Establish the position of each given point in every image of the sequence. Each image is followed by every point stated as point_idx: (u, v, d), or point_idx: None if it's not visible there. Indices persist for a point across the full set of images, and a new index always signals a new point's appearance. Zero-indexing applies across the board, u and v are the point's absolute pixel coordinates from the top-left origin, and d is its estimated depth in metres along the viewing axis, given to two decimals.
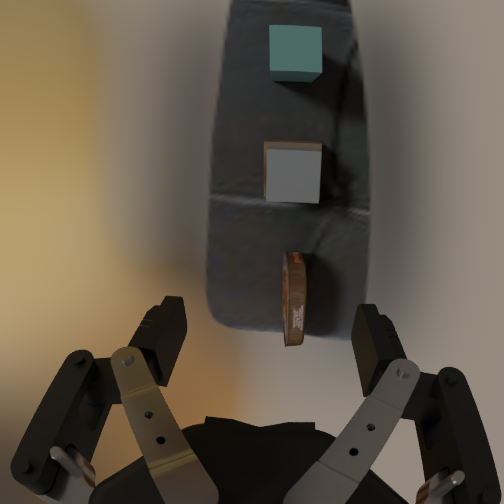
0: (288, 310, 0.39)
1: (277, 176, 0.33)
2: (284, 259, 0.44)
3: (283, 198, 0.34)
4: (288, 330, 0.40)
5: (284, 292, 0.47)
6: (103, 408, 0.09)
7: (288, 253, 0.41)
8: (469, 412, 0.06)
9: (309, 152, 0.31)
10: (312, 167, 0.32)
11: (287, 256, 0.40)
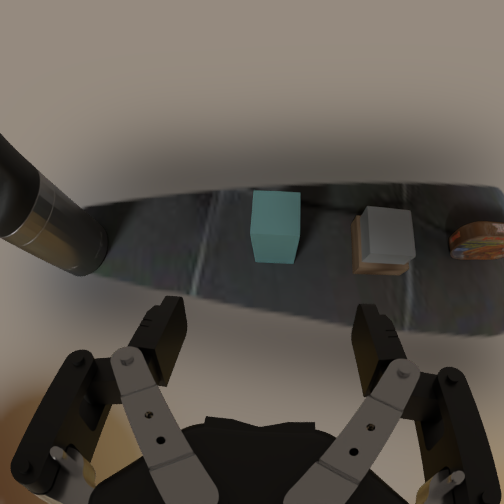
0: (499, 236, 0.30)
1: (393, 244, 0.33)
2: (455, 256, 0.37)
3: (411, 240, 0.33)
4: None
5: (481, 257, 0.37)
6: (103, 408, 0.09)
7: (452, 247, 0.35)
8: (469, 412, 0.06)
9: (369, 216, 0.34)
10: (381, 213, 0.34)
11: (455, 245, 0.34)
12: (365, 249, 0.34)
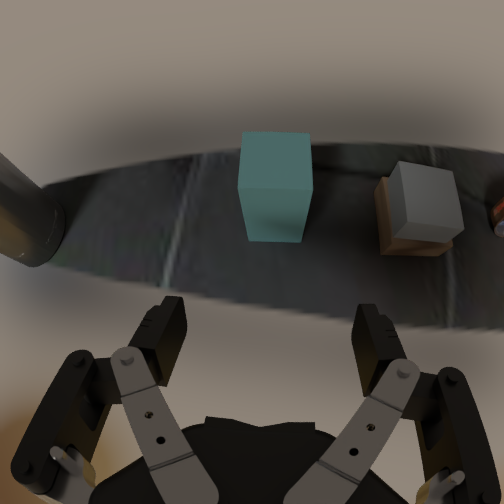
0: None
1: (435, 212, 0.22)
2: (498, 233, 0.27)
3: (457, 208, 0.22)
4: None
5: None
6: (103, 408, 0.09)
7: (498, 219, 0.25)
8: (469, 412, 0.06)
9: (402, 173, 0.23)
10: (417, 172, 0.23)
11: (503, 216, 0.24)
12: (398, 218, 0.24)
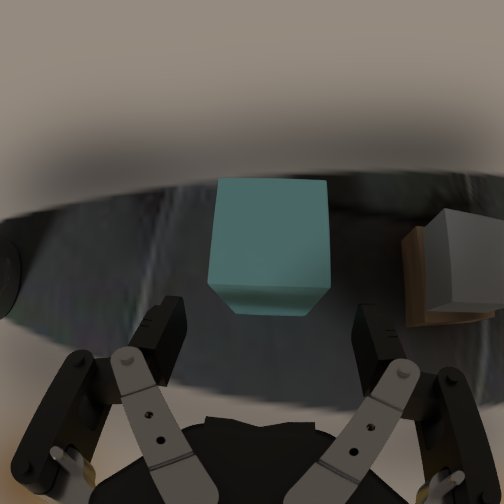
0: None
1: (486, 283, 0.14)
2: None
3: None
4: None
5: None
6: (103, 408, 0.09)
7: None
8: (469, 412, 0.06)
9: (449, 227, 0.16)
10: (467, 224, 0.16)
11: None
12: (437, 290, 0.16)
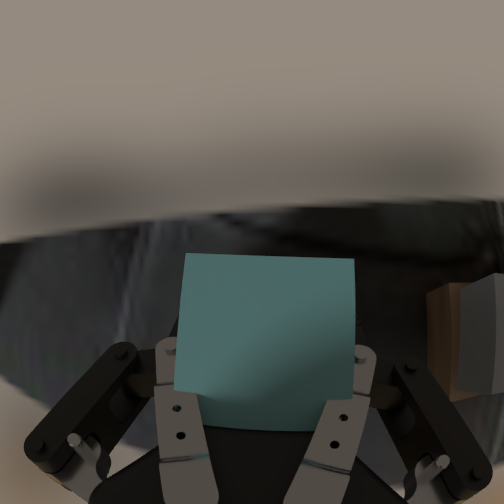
0: None
1: None
2: None
3: None
4: None
5: None
6: (138, 402, 0.10)
7: None
8: (437, 396, 0.07)
9: (497, 299, 0.11)
10: None
11: None
12: (474, 373, 0.11)
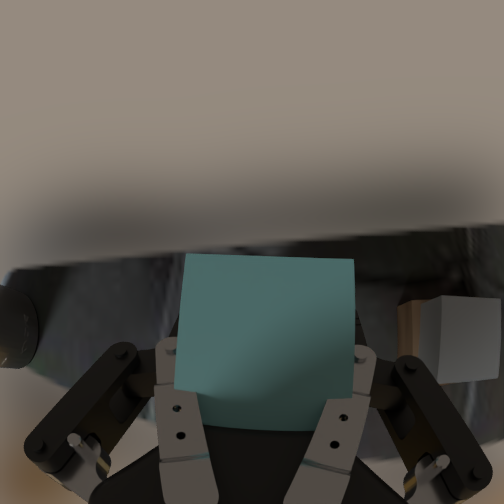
0: None
1: (471, 363, 0.15)
2: None
3: (496, 352, 0.15)
4: None
5: None
6: (138, 402, 0.10)
7: None
8: (436, 396, 0.07)
9: (443, 314, 0.17)
10: (461, 309, 0.17)
11: None
12: None
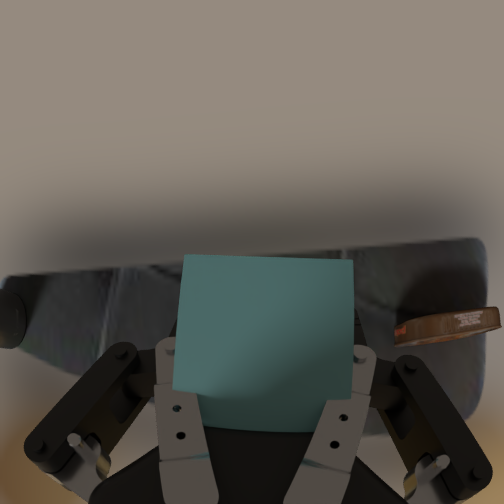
0: (461, 332, 0.24)
1: None
2: (404, 344, 0.32)
3: None
4: (483, 327, 0.24)
5: (442, 339, 0.31)
6: (138, 402, 0.10)
7: (396, 341, 0.29)
8: (436, 396, 0.07)
9: None
10: None
11: (399, 342, 0.28)
12: None
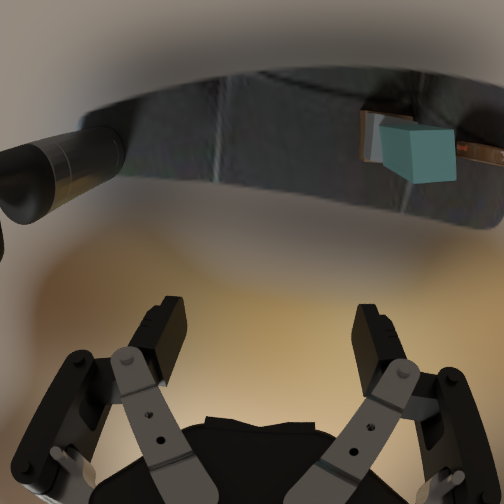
0: (503, 165, 0.29)
1: None
2: None
3: None
4: None
5: None
6: (103, 408, 0.09)
7: (457, 153, 0.34)
8: (469, 412, 0.06)
9: (375, 124, 0.32)
10: (387, 123, 0.31)
11: (460, 155, 0.33)
12: (367, 150, 0.35)
